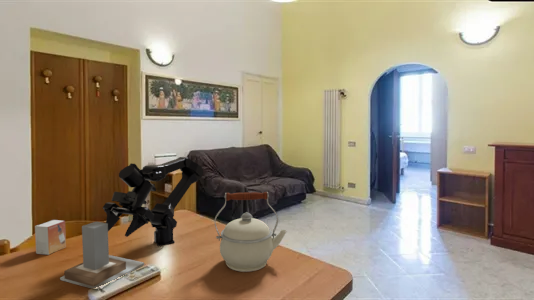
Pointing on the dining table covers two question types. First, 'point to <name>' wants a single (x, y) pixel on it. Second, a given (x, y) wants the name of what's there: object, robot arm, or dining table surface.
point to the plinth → (128, 269)
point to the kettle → (247, 238)
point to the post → (95, 245)
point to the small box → (50, 237)
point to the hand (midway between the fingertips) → (115, 234)
